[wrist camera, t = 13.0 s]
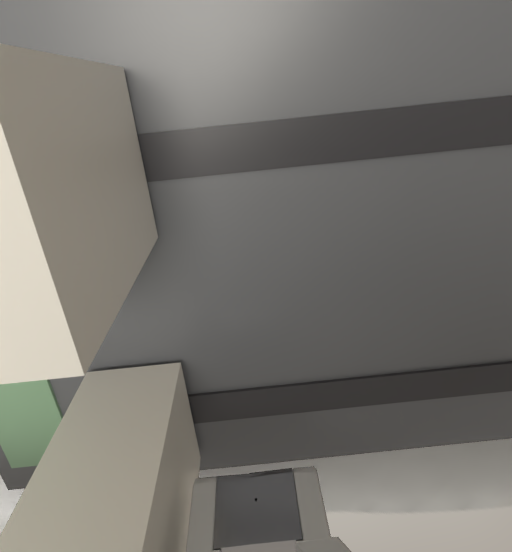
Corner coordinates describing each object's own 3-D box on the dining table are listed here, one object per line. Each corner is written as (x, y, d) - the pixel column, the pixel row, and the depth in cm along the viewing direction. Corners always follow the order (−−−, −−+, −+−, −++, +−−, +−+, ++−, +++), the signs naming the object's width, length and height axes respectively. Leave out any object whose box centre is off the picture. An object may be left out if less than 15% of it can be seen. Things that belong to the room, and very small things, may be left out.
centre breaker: (123, 67, 8) (-28, 38, 3) (158, 237, 9) (84, 375, 5) (-5, 80, 8) (-327, 68, 3) (49, 248, 9) (-125, 397, 5)
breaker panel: (805, -465, 8) (1137, -789, 5) (573, 365, 16) (648, 426, 13) (-262, -355, 8) (-553, -612, 5) (48, 419, 16) (6, 492, 13)
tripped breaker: (180, 362, 11) (140, 558, 6) (200, 457, 12) (179, 672, 8) (86, 371, 11) (-22, 575, 6) (117, 466, 12) (48, 686, 8)
